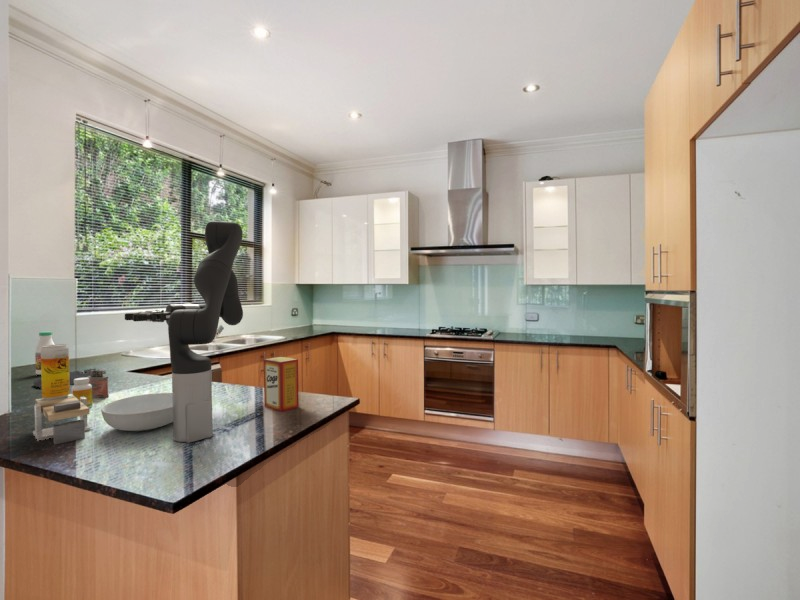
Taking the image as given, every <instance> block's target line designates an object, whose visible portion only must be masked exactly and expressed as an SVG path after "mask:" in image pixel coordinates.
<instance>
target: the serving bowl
mask: <svg viewBox="0 0 800 600" xmlns="http://www.w3.org/2000/svg"><path fill="white" fill-rule="evenodd" d="M100 411H101V414H102V415H101V416H102V418H103V421H104V422H105V424H107V425H108V426H109V427H111V428H112V429H115V430H119V431H125V432H126V431H127V432H128V431H129V432H130V431H131V432H143V430H145V431H150V429H151V430H156V429H158V427H159V428H162V427H163V426H166V425H168V424H171V423H173V404H172V392H157V393H146V394H140V395H134V396H127V397H123V398H120V399H117V400H116V399H115V400H114V401H111V402H108V403H107V404H105V405H103V406H102V407H101V409H100Z"/></svg>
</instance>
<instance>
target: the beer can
mask: <svg viewBox="0 0 800 600" xmlns="http://www.w3.org/2000/svg"><path fill="white" fill-rule="evenodd" d="M69 372H70V350H69V347H68V344H64V343H63V344H61V343H60V344H58V343H57V344H56V343H55V345H46V346H43V347H42V349H41V376H40V377H41V378H40V379H41V380H42V389H41V397H42V398H44V399H45V400H57V399H62V398H66V397H67V396H68V395H69V394H71V391H70V390H71V387H70V378H69Z"/></svg>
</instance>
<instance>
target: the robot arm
mask: <svg viewBox="0 0 800 600" xmlns="http://www.w3.org/2000/svg"><path fill="white" fill-rule="evenodd" d="M204 229H205V230H204V239H205V243H206V244H205V245H206V248H207V252H208V255H206V256H205V257H203V258H202V260H201V261H200V262H199V263H198V265H197V268H196V272H195V274H194V277H193V283H194V284H193V285H194V286H195V289H196V290H197V292H198V293H199V295H200V296H201V298H202V299H203V300H204V303H200V304H199V303H197V304H196V303H175V304H173V303H172V304H167V306H166V308H165V311H164V310H163V309H156V310H145V311H139V312H130V313H127V312H126V313H124V320H125V321H133V322H150V323H151V322H152V323H164V322H166V324H167V332H168V342H169V343H168V345H169V358H170V359H169V360H170V365H171V382H172V383H171V386H172V387H171V390H172V391H171V393H172V404H173V422H172V436H173V437H172V438H173V440H174V442H180V443H187V444H190V443H193V442H196V441H200V440H204V439H208V438H211V437H213V436H214V435H213V434H214V433H213V427H214V426H213V387H212V386H213V385H212V384H213V382H212V381H213V380H212V379H213V377H212V376H213V375H212V360H211V358H210V357H208V356H205V355H202V354H198V353H197V352H195V351H193V350H192V349H191V348H190V345H191V346H193V345H207V344H211V343H212V342H213V341H214V340H215V338H216V335H217V332H218V328H219V327H218V326H219V321H220V318H221V319H222V321H224V323H225V324H227V325H228V326H237V325H238V324H240V323H241V322H242V320H243V318H244V312H243V311H244V310H243V306H242V301H241V299H240V296H239V284H238V279H237V276H236V274H235V272H234V271H233V270H232V269H233V265H234V262H235V260H236V257H237V254H238V252H239V250H240V247H241V244H242V242H243V241H242V240H243V228H242V226H241V225H240V224H239V223H238V222H234V221H225V220H224V221H223V220H222V221H221V220H210V221H208V222H206V224H205V228H204Z"/></svg>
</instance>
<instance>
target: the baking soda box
mask: <svg viewBox="0 0 800 600" xmlns="http://www.w3.org/2000/svg"><path fill="white" fill-rule="evenodd" d="M263 386H264V387H263V389H264V390H263V391H264V392H263V394H264V395H263V396H264V399H263V401H264V404H263V405H264V408H267V409H271V410H274V411H277V412H279V413H282V412H286V411H290V410H294V409H298V408H299V405H300V404H299V403H300V402H299V400H300V398H299V359H296V358H292V357H284V356H278V357H277V356H276V357H269V358H265V359H263Z"/></svg>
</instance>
